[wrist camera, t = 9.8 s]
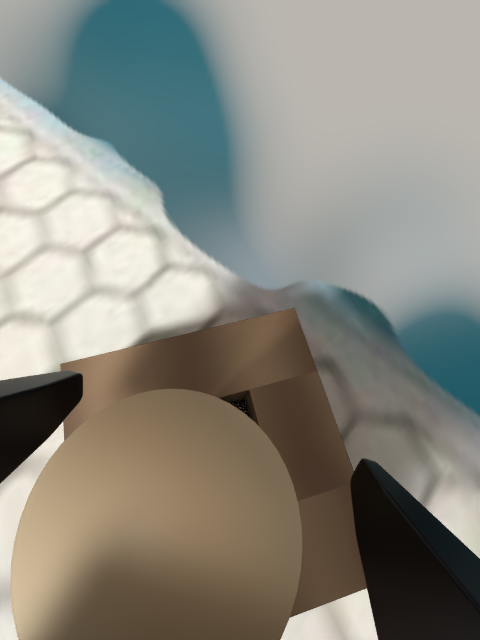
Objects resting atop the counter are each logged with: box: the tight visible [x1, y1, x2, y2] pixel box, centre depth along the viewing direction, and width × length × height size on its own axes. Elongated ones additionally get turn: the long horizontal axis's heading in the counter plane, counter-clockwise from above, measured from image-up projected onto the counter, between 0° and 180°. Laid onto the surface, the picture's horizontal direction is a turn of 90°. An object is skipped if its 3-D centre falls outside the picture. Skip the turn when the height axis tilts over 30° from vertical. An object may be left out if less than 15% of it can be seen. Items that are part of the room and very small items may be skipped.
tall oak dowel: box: [11, 389, 302, 640], centre depth 10 cm, size 3×3×14 cm
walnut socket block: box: [60, 308, 367, 617], centre depth 15 cm, size 12×12×4 cm
